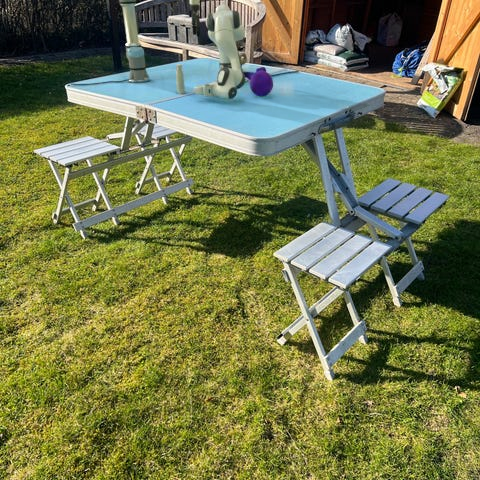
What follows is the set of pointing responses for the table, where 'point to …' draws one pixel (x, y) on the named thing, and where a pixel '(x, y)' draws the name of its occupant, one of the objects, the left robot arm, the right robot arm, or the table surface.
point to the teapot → (243, 59)
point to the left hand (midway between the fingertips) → (196, 35)
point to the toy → (260, 81)
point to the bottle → (180, 81)
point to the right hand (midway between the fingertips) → (200, 86)
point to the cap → (179, 66)
